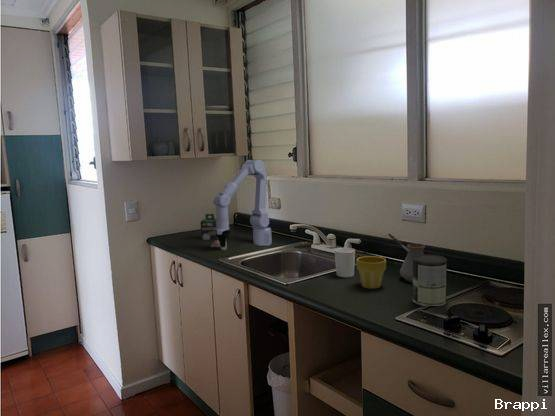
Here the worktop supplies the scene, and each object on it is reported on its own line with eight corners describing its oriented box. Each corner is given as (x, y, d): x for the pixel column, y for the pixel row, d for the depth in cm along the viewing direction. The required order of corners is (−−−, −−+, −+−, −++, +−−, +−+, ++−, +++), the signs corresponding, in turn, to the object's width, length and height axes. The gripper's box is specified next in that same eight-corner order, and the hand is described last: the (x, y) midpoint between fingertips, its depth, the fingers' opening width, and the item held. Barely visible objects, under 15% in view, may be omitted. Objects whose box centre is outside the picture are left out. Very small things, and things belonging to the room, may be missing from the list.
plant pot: (368, 279, 165) (368, 254, 163) (391, 285, 157) (392, 259, 155) (350, 285, 158) (350, 259, 157) (374, 292, 150) (373, 264, 149)
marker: (227, 248, 218) (226, 235, 217) (225, 250, 215) (225, 236, 214) (221, 248, 219) (220, 235, 218) (219, 250, 216) (219, 236, 215)
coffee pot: (439, 281, 160) (439, 240, 158) (415, 286, 155) (415, 244, 153) (398, 267, 179) (398, 231, 177) (376, 271, 174) (376, 234, 172)
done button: (221, 244, 227) (221, 240, 227) (220, 246, 224) (219, 241, 224) (215, 244, 228) (215, 240, 228) (214, 246, 225) (213, 241, 224)
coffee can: (405, 299, 142) (405, 257, 140) (428, 293, 147) (428, 252, 145) (429, 309, 133) (430, 264, 131) (453, 302, 138) (454, 259, 136)
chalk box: (221, 237, 250) (220, 212, 248) (217, 241, 241) (216, 214, 239) (205, 238, 251) (204, 212, 249) (201, 241, 242) (199, 215, 240)
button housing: (225, 246, 229) (224, 243, 229) (222, 248, 223) (222, 245, 223) (213, 246, 230) (213, 243, 229) (210, 248, 224) (210, 245, 224)
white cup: (331, 273, 174) (331, 249, 172) (348, 271, 176) (348, 246, 175) (341, 279, 166) (340, 253, 165) (359, 276, 169) (359, 250, 168)
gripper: (218, 216, 223) (219, 242, 224) (210, 221, 208) (211, 249, 210) (232, 216, 222) (233, 242, 223) (224, 221, 207) (226, 249, 209)
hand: (223, 246), depth 217 cm, fingers closed on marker, 3 cm apart
